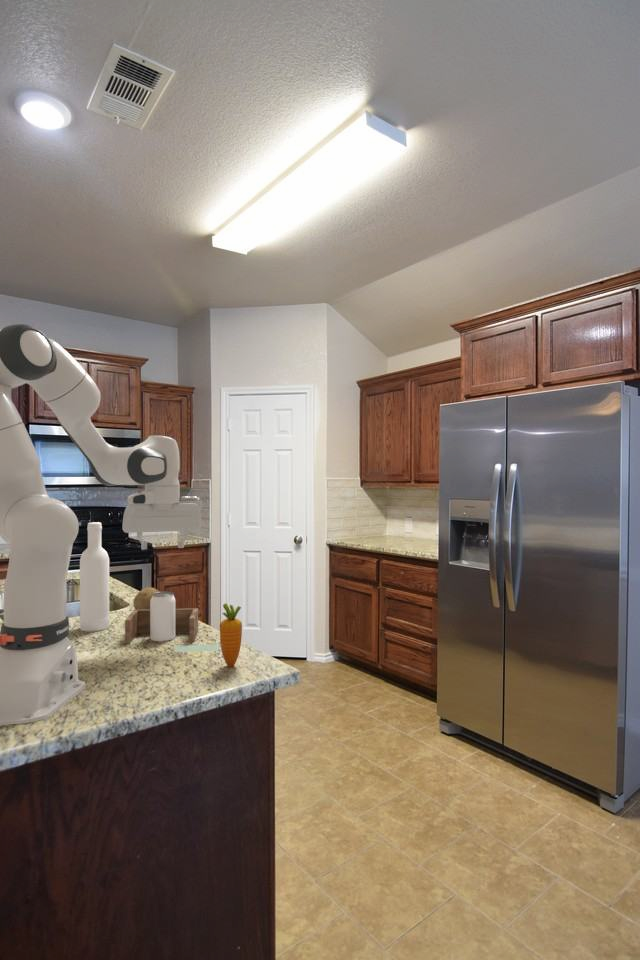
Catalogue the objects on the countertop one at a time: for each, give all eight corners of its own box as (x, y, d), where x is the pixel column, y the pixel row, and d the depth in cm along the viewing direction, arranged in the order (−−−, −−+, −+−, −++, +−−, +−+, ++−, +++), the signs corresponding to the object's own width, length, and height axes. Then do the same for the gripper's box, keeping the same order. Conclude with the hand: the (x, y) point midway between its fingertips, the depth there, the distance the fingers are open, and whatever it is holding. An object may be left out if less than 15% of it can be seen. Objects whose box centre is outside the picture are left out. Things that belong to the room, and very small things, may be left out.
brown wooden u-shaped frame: (194, 642, 139) (194, 618, 139) (125, 645, 137) (125, 620, 137) (198, 631, 149) (198, 608, 149) (134, 633, 147) (134, 609, 147)
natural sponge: (133, 617, 163) (133, 585, 162) (164, 615, 165) (164, 583, 165) (133, 626, 154) (133, 591, 154) (165, 623, 157) (165, 589, 157)
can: (171, 642, 139) (171, 597, 139) (146, 642, 140) (146, 596, 139) (178, 635, 146) (178, 591, 146) (154, 634, 146) (154, 591, 146)
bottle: (111, 623, 157) (111, 521, 156) (107, 630, 149) (107, 523, 149) (82, 624, 155) (82, 521, 154) (76, 632, 147) (76, 524, 147)
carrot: (246, 668, 122) (246, 602, 122) (231, 674, 118) (231, 607, 117) (230, 663, 125) (230, 599, 124) (215, 670, 121) (215, 604, 120)
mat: (216, 661, 126) (216, 659, 126) (169, 662, 125) (169, 661, 125) (219, 645, 137) (219, 644, 137) (176, 647, 136) (176, 645, 136)
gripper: (201, 495, 148) (201, 545, 149) (122, 496, 142) (123, 548, 142) (203, 496, 142) (203, 548, 143) (121, 497, 136) (122, 551, 136)
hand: (162, 548), depth 142 cm, fingers open, 8 cm apart
